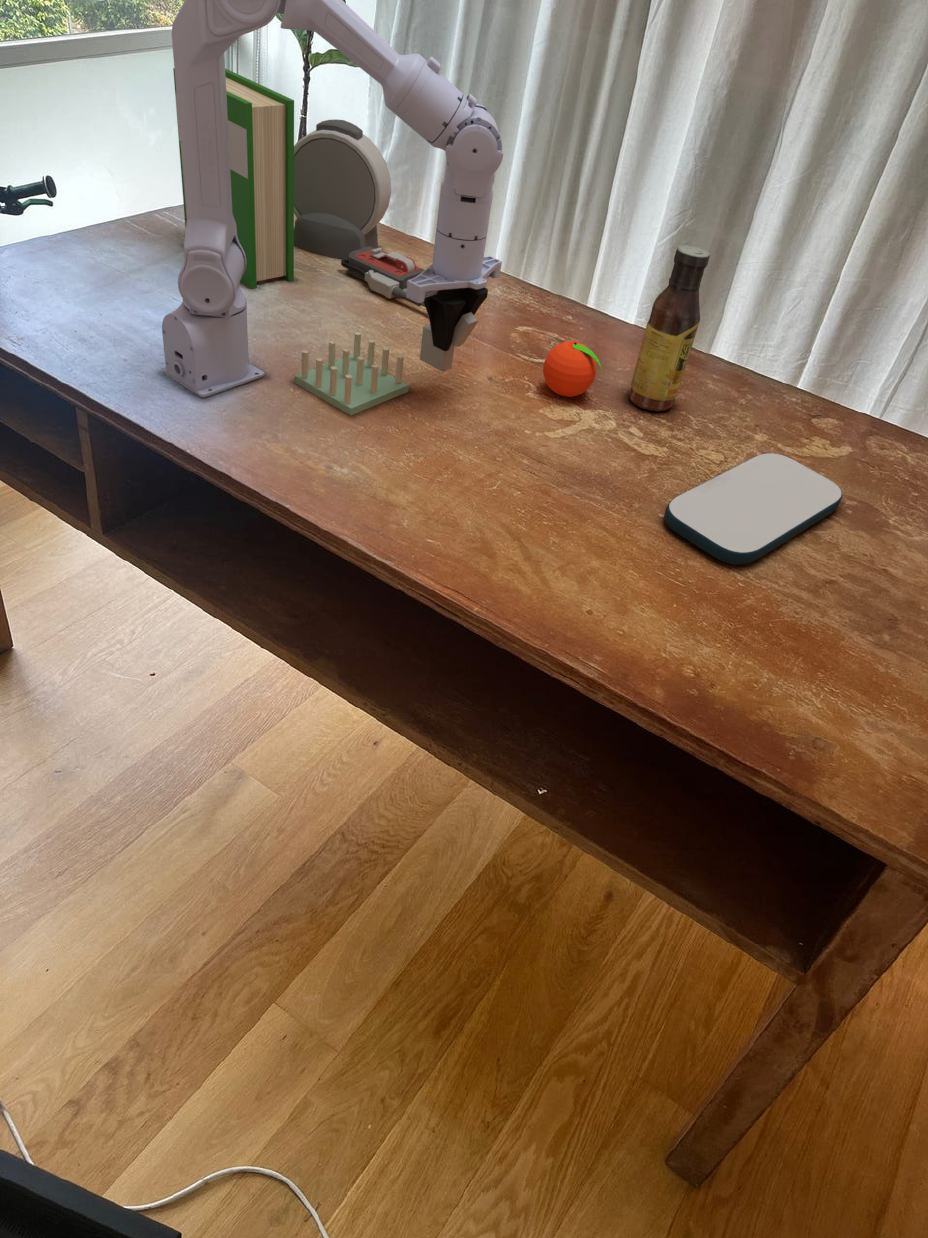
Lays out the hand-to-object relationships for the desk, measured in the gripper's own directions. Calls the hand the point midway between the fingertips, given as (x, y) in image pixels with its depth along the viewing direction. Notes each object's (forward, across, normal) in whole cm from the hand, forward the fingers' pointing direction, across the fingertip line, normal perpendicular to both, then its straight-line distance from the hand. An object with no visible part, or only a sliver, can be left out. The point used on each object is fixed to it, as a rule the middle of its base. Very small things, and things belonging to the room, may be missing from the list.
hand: (447, 345), depth 109 cm
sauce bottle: (+7, +22, -18) cm, 29 cm away
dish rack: (+7, -8, +8) cm, 13 cm away
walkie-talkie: (+7, +19, +26) cm, 33 cm away
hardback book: (+7, +5, +46) cm, 47 cm away
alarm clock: (+7, +23, +44) cm, 50 cm away
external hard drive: (+7, +9, -40) cm, 42 cm away
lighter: (+3, 0, 0) cm, 3 cm away
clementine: (+7, +14, -10) cm, 19 cm away
